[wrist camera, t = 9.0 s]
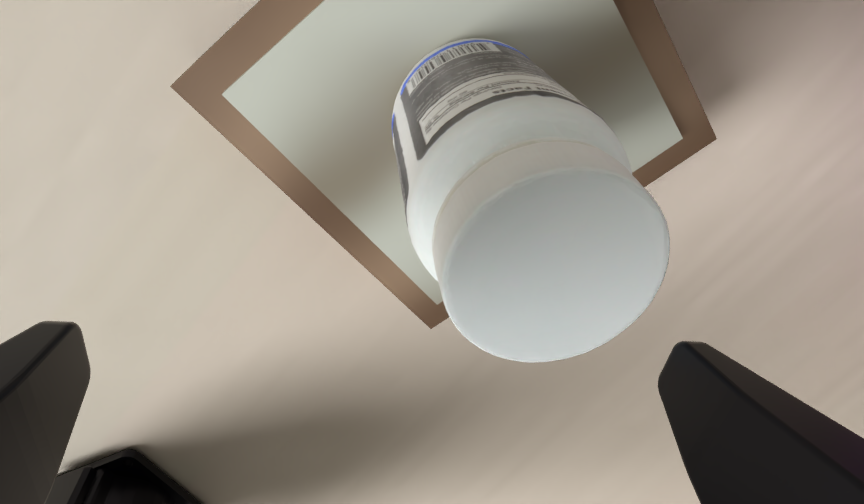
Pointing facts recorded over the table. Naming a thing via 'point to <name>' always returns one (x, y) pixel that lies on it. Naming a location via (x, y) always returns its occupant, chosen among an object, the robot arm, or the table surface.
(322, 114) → the pedestal
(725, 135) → the table surface
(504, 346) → the pill bottle
